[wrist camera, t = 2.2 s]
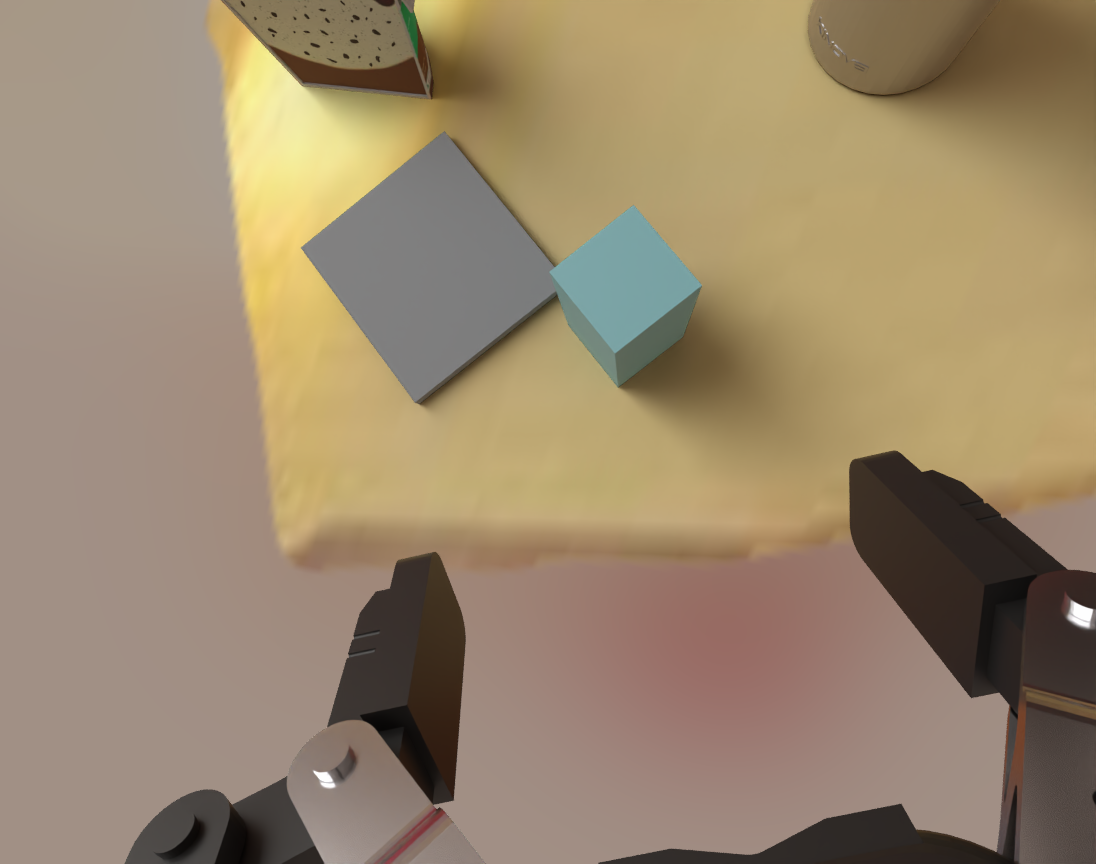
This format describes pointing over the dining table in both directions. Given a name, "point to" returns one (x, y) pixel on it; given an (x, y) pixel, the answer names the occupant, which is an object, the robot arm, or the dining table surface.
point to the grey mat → (432, 267)
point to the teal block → (626, 295)
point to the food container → (343, 43)
